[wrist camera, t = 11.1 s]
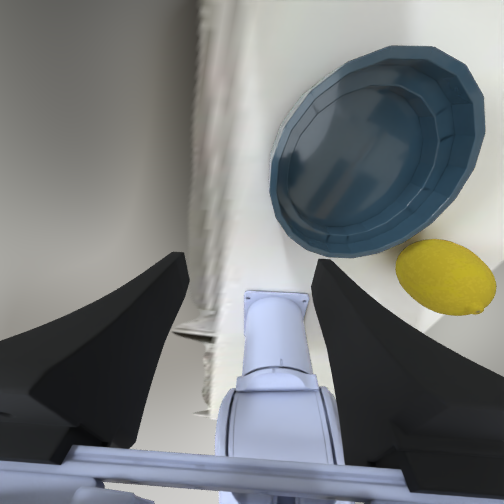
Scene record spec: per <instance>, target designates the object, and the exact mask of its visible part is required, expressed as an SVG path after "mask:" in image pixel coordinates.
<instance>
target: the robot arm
mask: <svg viewBox="0 0 504 504" xmlns="http://www.w3.org/2000/svg"><path fill="white" fill-rule="evenodd" d="M189 281H190V279H189V275H188V270H187V265H186V260H185V255H184V253H183V252H172V253H170V254H169V255H167V256H166V257H165V258H163V259H162V260H160V261H159V262H157V263H156V264H155V265H153V266H152V267H150V268H149V269H148V270H146V271H145V272H143V273H142V274H140V275H139V276H137V277H136V278H134V279H133V280H131V281H129V282H128V283H126V284H125V285H123V286H122V287H120V288H118V289H117V290H115V291H113V292H112V293H110V294H108V295H106V296H104V297H102V298H101V299H99V300H97V301H95V302H93V303H91V304H89V305H87V306H85V307H83V308H81V309H78V310H77V311H74V312H72V313H70V314H68V315H66V316H63V317H61V318H59V319H56V320H54V321H52V322H49V323H47V324H44V325H42V326H39V327H37V328H34V329H32V330H29V331H27V332H24V333H21V334H18V335H15V336H13V337H10V338H7V339H4V340H2V341H0V504H155V503H154V501H151V500H147V499H143V498H141V497H138V496H136V495H135V494H134V493H131V492H124V491H118V490H110V489H105V486H104V483H103V482H112V483H125V484H138V485H150V486H162V487H175V488H188V489H201V490H213V491H219V504H355V502H363V503H364V504H504V377H503V376H501V375H499V374H497V373H495V372H493V371H491V370H489V369H487V368H485V367H483V366H481V365H478V364H477V363H475V362H473V361H471V360H469V359H467V358H465V357H463V356H461V355H459V354H458V353H456V352H454V351H452V350H451V349H449V348H447V347H445V346H443V345H442V344H440V343H438V342H436V341H435V340H433V339H431V338H430V337H428V336H426V335H425V334H423V333H422V332H420V331H418V330H417V329H415V328H414V327H412V326H411V325H409V324H407V323H406V322H404V321H403V320H402V319H400V318H399V317H397V316H396V315H394V314H393V313H392V312H390V311H389V310H388V309H386V308H385V307H383V306H382V305H381V304H380V303H378V302H377V301H376V300H375V299H373V298H372V297H371V296H370V295H369V294H367V293H366V292H365V291H364V290H363V289H361V288H360V287H359V286H358V285H357V284H356V283H355V282H354V281H353V280H352V279H351V278H349V277H348V276H347V275H346V274H345V273H344V272H343V271H342V270H341V269H340V268H339V267H338V266H337V265H336V264H335V263H334V262H333V261H332V260H330V259H318V263H317V266H316V270H315V274H314V278H313V281H312V285H311V290H312V297H313V303H314V307H315V310H316V314H317V317H318V320H319V324H320V327H321V330H322V334H323V337H324V340H325V344H326V348H327V352H328V357H329V362H330V367H331V372H332V378H333V384H334V389H335V395H336V399H335V397H334V395H333V394H332V393H331V392H330V391H329V390H328V389H327V388H326V387H325V386H318V381H317V376H316V375H315V374H313V370H312V365H311V360H310V354H309V349H308V344H307V338H306V333H305V328H304V323H303V320H304V316H305V313H306V309H307V305H308V302H309V295H308V294H299V293H280V292H261V291H246V292H245V294H244V336H245V347H244V359H243V371H242V376H240V377H237V383H236V388H232V389H230V390H229V391H228V393H227V395H226V396H225V397H224V399H223V401H222V403H221V406H220V409H219V414H218V419H217V425H216V435H215V455H201V454H188V453H175V452H161V451H148V450H135V449H129V448H130V447H132V445H133V444H134V443H135V442H136V439H137V435H138V430H139V427H140V423H141V419H142V415H143V411H144V407H145V404H146V400H147V397H148V393H149V390H150V386H151V383H152V380H153V376H154V373H155V370H156V367H157V364H158V360H159V358H160V355H161V352H162V349H163V345H164V343H165V340H166V338H167V335H168V333H169V331H170V329H171V326H172V324H173V322H174V320H175V318H176V316H177V313H178V311H179V309H180V307H181V305H182V302H183V300H184V298H185V295H186V292H187V289H188V285H189ZM248 297H250V298H248ZM303 300H304V301H303Z"/></svg>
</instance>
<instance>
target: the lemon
mask: <svg viewBox="0 0 504 504" xmlns="http://www.w3.org/2000/svg"><path fill="white" fill-rule="evenodd" d="M395 270H396V275H397V277H398V280H399V282H400V284H401V286H402V287H403V288H404V290H405V291H406V292H407V293H408V294H409V295H410V296H411V297H412V298H413V299H415V300H416V301H417V302H418V303H420V304H421V305H423V306H424V307H426V308H428V309H430V310H432V311H434V312H437V313H441V314H446V315H454V316H462V315H469V314H480V313H482V312H483V311H484V308H485V307H487V306H488V305H489V304H490V303H491V301H492V300H493V298H494V296H495V293H496V281H495V278H494V276H493V273H492V272H491V270H490V269H489V268H488V266H487V265H486V264H485V263H484V262H483V261H482V260H481V259H480V258H479V257H478V256H477V255H475V254H474V253H473V252H472V251H470V250H468V249H467V248H465V247H463V246H461V245H458V244H456V243H453V242H450V241H446V240H439V239H429V240H422V241H418V242H415V243H413V244H411V245H409V246H408V247H406V248H405V249H404V250H403V251H402V252H401V253H400V255H399V256H398V258H397V261H396V269H395Z"/></svg>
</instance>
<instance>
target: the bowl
mask: <svg viewBox="0 0 504 504" xmlns="http://www.w3.org/2000/svg"><path fill="white" fill-rule="evenodd" d="M484 135H485V111H484V96H483V94H482V92H481V90H480V89H479V87H478V85H477V83H476V81H475V80H474V78H473V76H472V74H471V73H470V71H469V69H468V67H467V66H466V65H465V64H464V63H462V62H460V61H459V60H457V59H455V58H453V57H452V56H450V55H448V54H446V53H445V52H443V51H441V50H439V49H437V48H436V47H432V46H398V45H392V46H388V47H385V48H382V49H380V50H377V51H375V52H372V53H369V54H367V55H364V56H361V57H359V58H356V59H354V60H351V61H348V62H347V63H345V64H343V65H342V66H340V67H339V68H337V69H335V70H334V71H332V72H331V73H329V74H328V75H327V76H325V77H324V78H323V79H322V80H320V81H319V82H318V83H316V84H315V85H314V86H313V87H311V88H310V89H309V90H308V91H306V92H305V93H304V94H303V95H302V96H301V97H300V98H299V100H298V101H297V102H296V104H295V105H294V107H293V108H292V109H291V111H290V112H289V114H288V115H287V116H286V118H285V119H284V121H283V122H282V124H281V126H280V128H279V131H278V134H277V136H276V139H275V142H274V145H273V147H272V150H271V154H270V165H269V193H270V197H271V201H272V205H273V209H274V213H275V217H276V219H277V220H278V222H279V223H280V225H281V226H282V228H283V229H284V230H285V232H286V233H287V235H288V236H289V237H290V238H291V239H292V240H294V241H295V242H296V243H298V244H299V245H301V246H302V247H303V248H305V249H306V250H308V251H311V252H314V253H317V254H320V255H323V256H326V257H335V258H356V257H362V256H367V255H372V254H377V253H380V252H382V251H385V250H387V249H389V248H392V247H394V246H397V245H399V244H401V243H404V242H406V241H407V240H408V239H410V238H411V237H413V236H414V235H416V234H417V233H419V232H420V231H422V230H423V229H425V228H426V227H428V226H429V225H430V224H432V223H433V222H434V221H435V220H436V219H437V218H438V217H439V215H440V214H441V213H442V212H443V211H444V210H445V209H446V208H447V207H448V206H449V205H450V204H451V203H452V202H453V201H454V200H455V199H456V197H457V196H458V194H459V193H460V191H461V189H462V188H463V186H464V184H465V183H466V181H467V180H468V178H469V176H470V175H471V173H472V172H473V170H474V168H475V165H476V162H477V159H478V155H479V152H480V149H481V145H482V142H483V139H484Z"/></svg>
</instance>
